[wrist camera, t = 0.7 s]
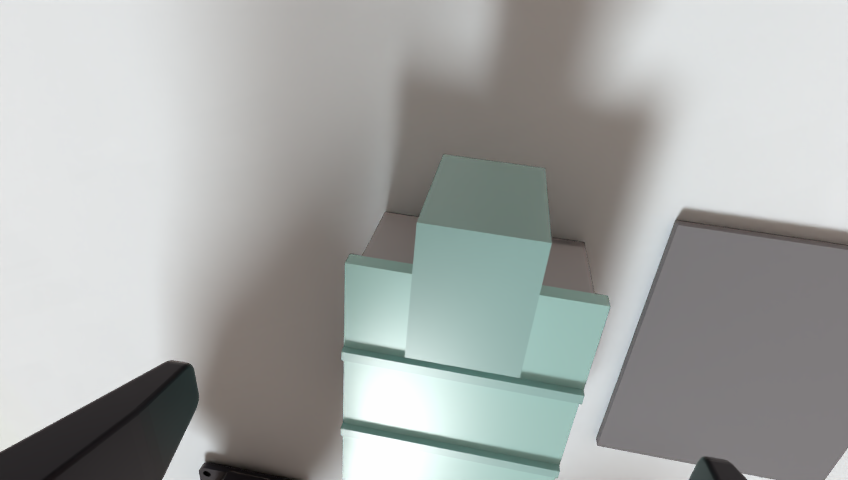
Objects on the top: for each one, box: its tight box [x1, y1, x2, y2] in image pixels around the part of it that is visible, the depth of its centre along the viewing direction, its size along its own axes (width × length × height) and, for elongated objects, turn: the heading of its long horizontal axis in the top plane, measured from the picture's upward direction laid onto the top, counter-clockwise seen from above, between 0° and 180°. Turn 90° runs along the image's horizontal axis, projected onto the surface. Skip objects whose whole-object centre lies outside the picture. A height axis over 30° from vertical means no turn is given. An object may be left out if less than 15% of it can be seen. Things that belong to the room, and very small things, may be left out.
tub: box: [362, 212, 595, 294], centre depth 22 cm, size 11×8×4 cm
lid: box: [341, 154, 610, 480], centre depth 18 cm, size 16×9×5 cm, turn 175°
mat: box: [596, 220, 848, 480], centre depth 22 cm, size 12×10×1 cm
